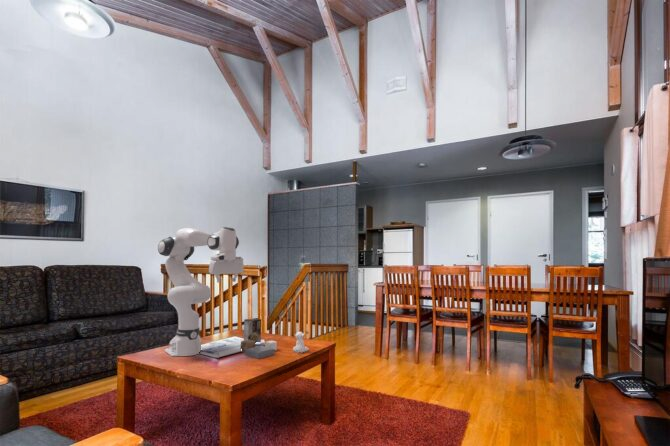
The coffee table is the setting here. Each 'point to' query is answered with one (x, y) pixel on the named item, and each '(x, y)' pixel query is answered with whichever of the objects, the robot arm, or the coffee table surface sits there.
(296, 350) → the white creature statuette
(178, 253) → the robot arm
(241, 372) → the coffee table surface
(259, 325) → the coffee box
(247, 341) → the walnut block
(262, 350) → the base
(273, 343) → the cream block
